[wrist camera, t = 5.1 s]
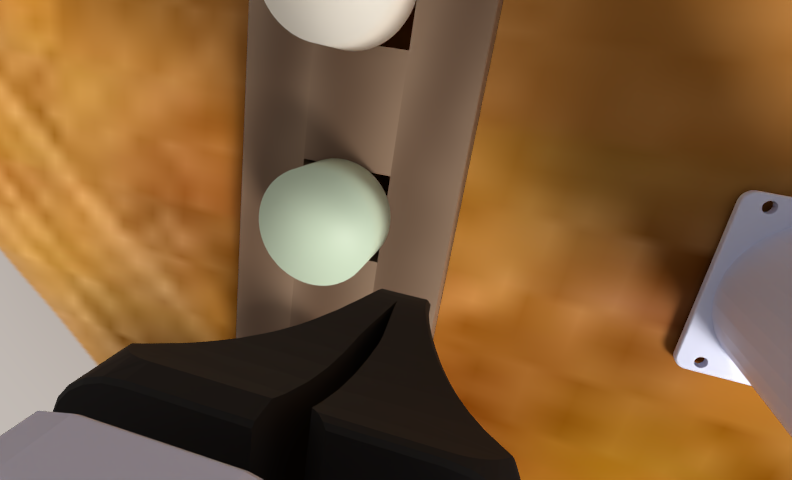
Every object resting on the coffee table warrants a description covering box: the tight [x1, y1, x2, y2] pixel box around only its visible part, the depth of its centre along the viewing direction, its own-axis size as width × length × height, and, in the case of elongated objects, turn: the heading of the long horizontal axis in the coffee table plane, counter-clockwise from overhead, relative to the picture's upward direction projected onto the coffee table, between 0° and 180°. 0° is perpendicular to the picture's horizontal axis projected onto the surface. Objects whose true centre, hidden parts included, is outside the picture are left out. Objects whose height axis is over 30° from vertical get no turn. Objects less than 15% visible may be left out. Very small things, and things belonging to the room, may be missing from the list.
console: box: [236, 0, 503, 338], centre depth 21 cm, size 10×30×2 cm, turn 171°
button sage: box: [259, 158, 391, 286], centre depth 20 cm, size 5×5×4 cm
